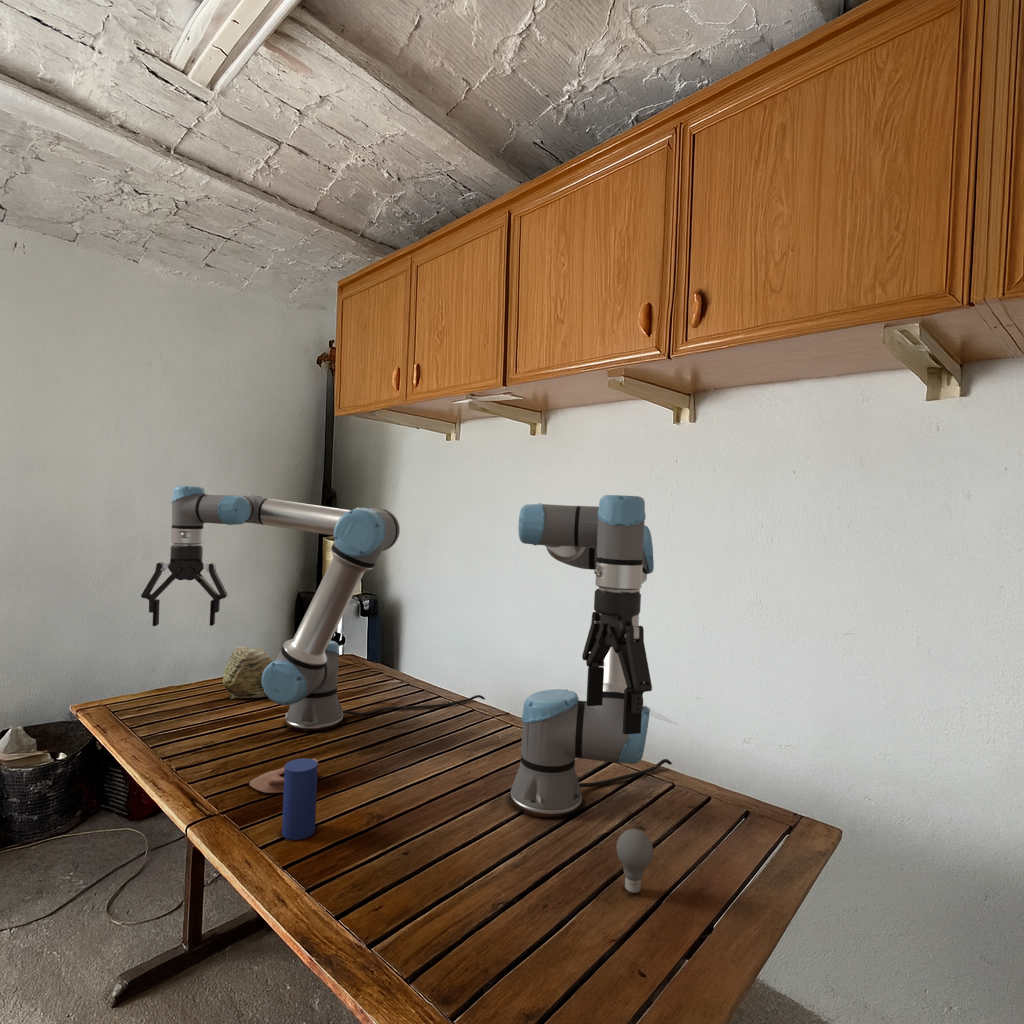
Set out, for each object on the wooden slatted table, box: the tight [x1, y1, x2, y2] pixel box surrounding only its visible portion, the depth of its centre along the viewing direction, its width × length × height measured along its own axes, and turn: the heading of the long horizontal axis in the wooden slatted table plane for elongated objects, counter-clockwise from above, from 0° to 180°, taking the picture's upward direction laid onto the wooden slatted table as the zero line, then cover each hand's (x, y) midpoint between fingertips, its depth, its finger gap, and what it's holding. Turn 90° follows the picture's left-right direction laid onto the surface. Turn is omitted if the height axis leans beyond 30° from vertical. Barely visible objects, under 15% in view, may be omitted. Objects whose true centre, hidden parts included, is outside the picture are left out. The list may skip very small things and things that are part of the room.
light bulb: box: [615, 828, 654, 894], centre depth 106 cm, size 6×6×10 cm
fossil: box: [222, 646, 274, 699], centre depth 198 cm, size 9×18×15 cm, turn 132°
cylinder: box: [281, 757, 319, 841], centre depth 120 cm, size 6×6×13 cm
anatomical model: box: [248, 758, 319, 794], centre depth 139 cm, size 13×4×12 cm
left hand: (184, 625), depth 167 cm, fingers open, 13 cm apart
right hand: (611, 718), depth 104 cm, fingers open, 13 cm apart
